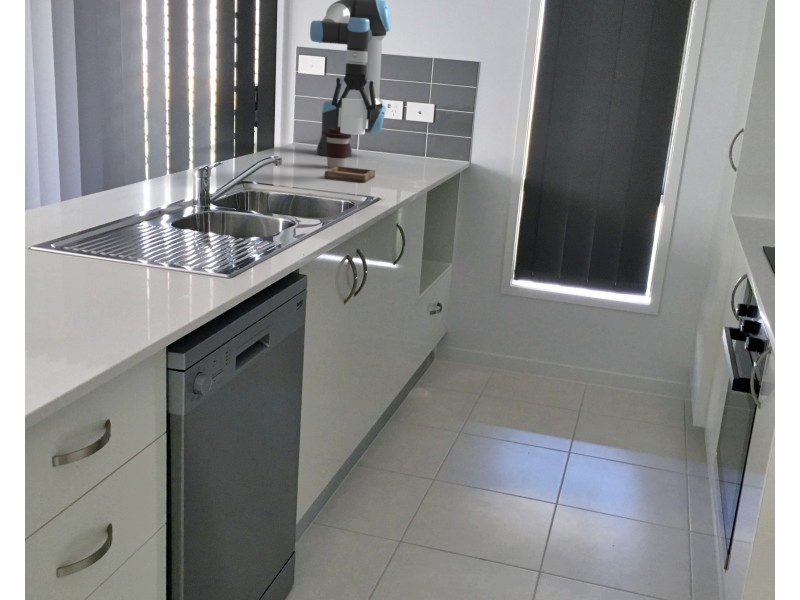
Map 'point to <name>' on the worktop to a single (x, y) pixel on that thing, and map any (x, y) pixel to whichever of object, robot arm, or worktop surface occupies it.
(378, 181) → the worktop surface
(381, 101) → the robot arm
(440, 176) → the worktop surface
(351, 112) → the white box
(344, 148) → the coffee cup
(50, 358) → the worktop surface
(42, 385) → the worktop surface
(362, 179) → the tray
